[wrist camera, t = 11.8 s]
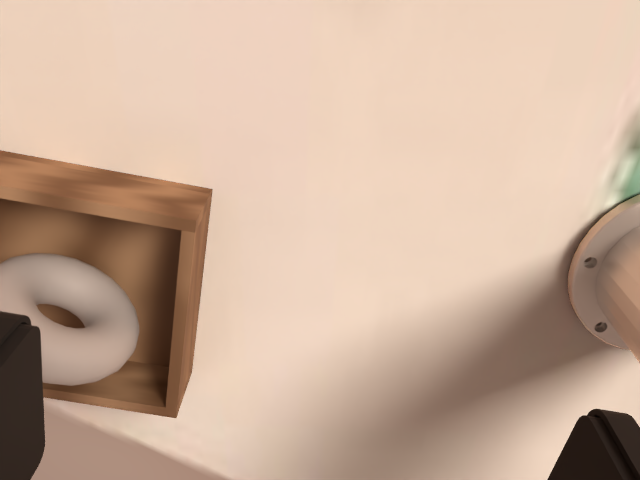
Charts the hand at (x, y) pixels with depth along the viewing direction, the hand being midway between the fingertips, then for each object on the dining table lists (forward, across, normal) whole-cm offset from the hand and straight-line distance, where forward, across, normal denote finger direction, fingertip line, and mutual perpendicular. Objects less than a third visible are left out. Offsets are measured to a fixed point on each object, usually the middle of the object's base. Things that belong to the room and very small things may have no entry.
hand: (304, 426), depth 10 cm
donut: (+28, +14, +16) cm, 35 cm away
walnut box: (+28, +14, +16) cm, 35 cm away
